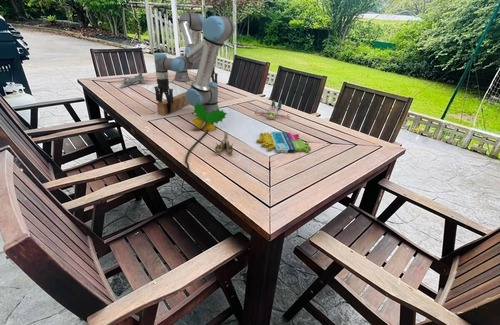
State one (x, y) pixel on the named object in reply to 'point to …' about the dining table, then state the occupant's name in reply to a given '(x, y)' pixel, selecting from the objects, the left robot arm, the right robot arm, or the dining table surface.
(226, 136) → the jawbone
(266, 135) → the sign
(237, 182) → the dining table surface
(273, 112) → the toy
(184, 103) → the post
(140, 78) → the airplane
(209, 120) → the ornament
